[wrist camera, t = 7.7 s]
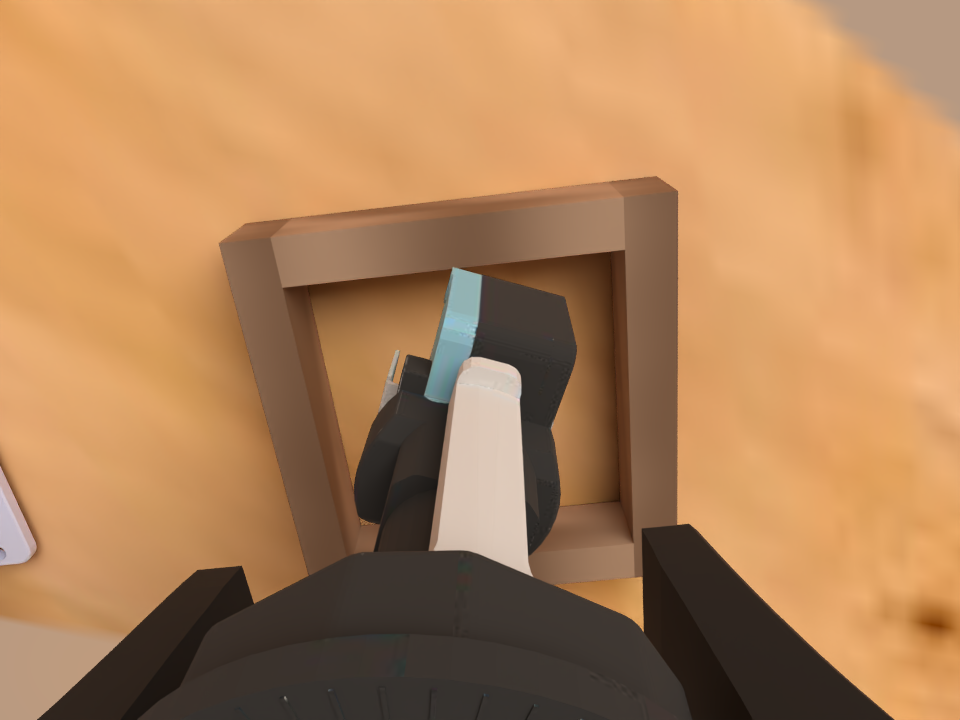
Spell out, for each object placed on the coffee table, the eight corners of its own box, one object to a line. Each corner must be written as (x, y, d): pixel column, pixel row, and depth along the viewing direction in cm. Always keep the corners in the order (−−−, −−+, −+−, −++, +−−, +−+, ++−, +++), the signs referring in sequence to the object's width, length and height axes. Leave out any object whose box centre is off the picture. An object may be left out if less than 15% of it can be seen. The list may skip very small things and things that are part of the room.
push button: (536, 566, 15) (587, 1320, 6) (301, 511, 15) (-2, 1244, 6) (645, 295, 13) (1009, 960, 4) (359, 217, 12) (-49, 762, 3)
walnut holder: (330, 560, 22) (317, 606, 20) (245, 223, 18) (218, 243, 16) (660, 529, 21) (677, 573, 20) (656, 176, 17) (677, 190, 15)
